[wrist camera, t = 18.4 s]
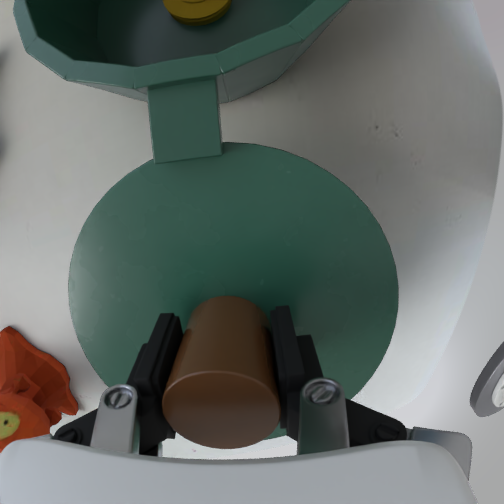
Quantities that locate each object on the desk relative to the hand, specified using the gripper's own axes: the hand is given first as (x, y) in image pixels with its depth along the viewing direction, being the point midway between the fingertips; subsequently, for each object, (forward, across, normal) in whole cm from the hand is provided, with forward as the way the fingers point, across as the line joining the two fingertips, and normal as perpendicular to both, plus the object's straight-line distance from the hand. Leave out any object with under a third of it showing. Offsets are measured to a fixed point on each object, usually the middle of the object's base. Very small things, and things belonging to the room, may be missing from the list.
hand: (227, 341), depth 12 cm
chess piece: (+8, +1, -17) cm, 19 cm away
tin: (+8, +1, -17) cm, 19 cm away
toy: (+8, +25, +12) cm, 29 cm away
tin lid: (+1, 0, 0) cm, 1 cm away
